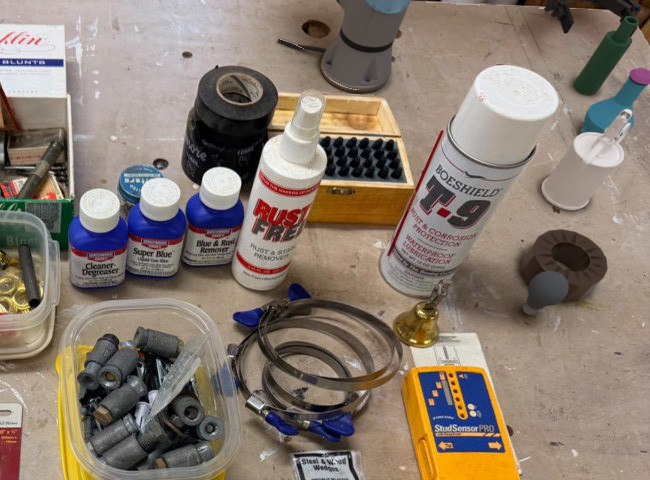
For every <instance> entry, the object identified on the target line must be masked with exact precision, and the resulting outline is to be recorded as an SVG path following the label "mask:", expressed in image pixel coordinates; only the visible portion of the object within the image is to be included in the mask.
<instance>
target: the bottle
mask: <svg viewBox="0 0 650 480" xmlns="http://www.w3.org/2000/svg"><path fill="white" fill-rule="evenodd" d="M639 23H640V21H639V19H638V18H637V17H636V18H635V17H632V16H627V17H625V18H624V20H623V21H622V23H620V24H619V25H618V27H617V28H616V30H610V31H608V32H607V33H606V34H605V36H604V37H603V38H602V40H601V41H600V43H599V44H598V46H597V47H596V49H595V50H594V52H593V53H592V55H591V56H590V58H589V59H588V61H587V63H586V64H585V65H584V67H583V68H582V70H581V71H580V73H579V74H578V75H577V78H576V79H575V80H574V82H573V84H572V86H573V89H574V90H575V91H576V92H577V93H579V94H580V95H584V96H594V95H595V94H597V93H598V92H599V90H600V89H601V87H602V86H603V85H604V83H605V82H606V81H607V79H608V77H609V76H610V75H611V73H612V72H613V71H614V69H615V67H616V66H617V65H618V63H620V61H621V59H622V58H623V56H624V55H625V54H626V52H627V51H628V49H629V48H630V46H631V45H632V44H633V38H632V36H631V37H630V35H631V33H632V32H633V30H634V29H635V28H636V26H637V27H638V25H639Z"/></svg>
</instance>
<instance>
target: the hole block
mask: <svg viewBox="0 0 650 480" xmlns="http://www.w3.org/2000/svg"><path fill="white" fill-rule="evenodd" d="M556 261H557V262H560V263H561V264H563V265H565V266H566V267H567V268H569V269H570V270H568V269H566V268H564V267H562V266H560V265H559V264H558V263H557V262H556ZM519 266H520V267H519V269H520V274H521V276H522V278H523V280H524V282H525V283H526V284H527V285H528V286H529V283H530V281H531V280H532V279H533V277H535V276H536V275H537V274H539V273H541V272H545V271H555V272H559V273H560V274H562V275H563V276H564V277H565V278H566V279H567V281H568V285H569V288H568V293H567V295H566V296H565V298H564V299H563V300H562V301H561V302H560V303H570V302H578V301H580V300H581V299H583V298H584V297H586V296H588V294H589V293H591V292H592V291H593V290H594V288H596V286H597V285H599V283H600V282H602V280H604V278H605V276H606V274H607V272H608V270H609V268H608V267H609V266H608V259H607V257H606V255H605V253H604V251H603V250H602V248H601V247H600V246H599V245H598V244H597V243H595V242H594V241H593V240H591V238H589V237H587V236H585V235H583V234H581V233H579V232H576V231H573V230H568V229H564V228H559V229H551V230H547V231H545V232H544V233H542V234H540V235H538V236H537V237H536V239H535V240H534V241H533V243H532V244H531V245H530V247H528V249H527V250H526V251H525V253H524V254H523V256H522V257H521V259H520V261H519Z"/></svg>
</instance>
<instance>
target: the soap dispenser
mask: <svg viewBox="0 0 650 480" xmlns="http://www.w3.org/2000/svg"><path fill="white" fill-rule="evenodd" d="M631 116H632V111H631V110H629V109H625V110H623V111H622V112H621V113H620V114H619V115H618V117H616V118H615V119H614V121H613V122H612V123H611V125H610V126H609V127H608V128H607V129H606V130H604V133H603V134H601V133H596V132H586V133H582V134H581V133H579V134H578V135H577V136H575V137H574V139H573V141H572V144H571V145H570V146H569V149H567V151H566V153H565V154H564V155H563V157H562V158H561V159H560V161H559V162H558V163H557V165H556V166H555V167H554V169H553V170H552V171H551V173H550V174H549V176H548V177H546V178H545V179H544V180H543V181H542V184H541V193H542V195H543V197H544V198H545V200H546V201H547V202H548V203H550V204H551V205H553V206H554V207H556V208H560V210H561V209H562V210H565V211H578V210H581V209H583V208H585V207H586V206H587V205H588V204H589V201H590V199H591V198H592V196H593V195H594V194H595V193H596V192H597V191H598V189H599V188H600V187H601V186H602V185H603V183H604V182H605V181H606V180H607V178H608V177H609V176H610V175H611V174H612V173H613V171H614V170H615V169H616V168H617V167H618V166H620V165H621V164H622V163H623V161H624V159H625V151H624V149H623V147H622V145H621V144H620V143H621V142H622V140H623V139H624V138H625V136H626V135H627V133H628V132H629V131H630V130H629V128H630V126H631V123H627V121H628V120H629V119H630V118H631ZM626 123H627V124H626ZM625 124H626V125H625ZM623 127H624V128H623ZM622 128H623V129H622ZM621 129H622V130H621ZM628 130H629V131H628ZM620 131H621V132H620ZM619 132H620V133H619ZM623 132H624V133H623ZM621 133H623V134H622V136H621V137H620V134H621ZM617 136H618V137H617ZM616 137H617V138H616ZM614 138H616V140H615V139H614Z"/></svg>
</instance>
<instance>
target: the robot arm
mask: <svg viewBox="0 0 650 480" xmlns="http://www.w3.org/2000/svg"><path fill="white" fill-rule="evenodd" d="M335 1H336V2H337V4H338V5H339V6H340V7H341V9H343V11H344V16H343V18H342V22H341V26H340V29H339V31H338V33H337V34H336V36H335V37H334V38H333V40H332V41H331V43H330V44H329V46H328V47H327V48H323V47H319V46H313V45H306V44H299V43H297V44H298V46H300V47H302V48H300V47H298V46H296V45H294V44H292V43H293V42H292V43H289V42H290V41H289V42H286V41H283V40H280V39H279V38H278V39H277V43H280V44H283V45H284V46H287V47H290V48H292V49H296V50H302V51H303V50H304V51H311V52H316V53H322V59H321V61H322V62H321V61H320V64H319V65H320V66H319V67H320V72H321V75H322V76H323V78H324V79H325V80H326V81H327V82H328V83H329V84H331V85H332V86H333V87H335V88H337V89H339V90H342V91H345V92H348V93H353V94H367V93H368V94H369V93H373V92H376V91H379V90H380V89H382V88H383V87H384V86H385V85H386V84H387V82H388V81H389V78H390V75H391V72H392V64H394V63H395V62H396V57H394V56H393V45H394V43H395V40H396V37H397V36H398V32H399V30H400V27H401V25H402V23H403V21H404V17H405V15H406V13H407V11H408V9H409V6H410V3H411V2H412V0H335ZM574 2H576V0H558V1H556V0H548V2H547V4H546V5H545V7H544V12H547V13H548V12H550V11H552V12H551V14H550V17H552V18H556V20H557V21H558V22H560V26H561V30H562V32H563V34H568V33H569V31H570V30H571V29H572V27H573V25H574V24H575V20H574V17H573V13H572V11H571V7H570V4H573V3H574ZM578 2H587V3H592V4H593V5H595V6H597V7H600V6H602V7H603V8H604V9H606V10H608V11H609V12H611V13H613V14H614V15H616V16H618V17H619V18H620V19H619V23H620V24H621V23H622V21H623V20H624V18H625V17H627V16H632V17H635V18H637V16H638V15H639V13H640V12H641V10H643V7H642V5H641V4H639V3H638V2H637V1H636V0H578ZM638 28H639V26H638V25H637V26H636V28H635V29H634V30H633V32H632V33H631V35H630V37H631V38H632V37H633V35H635V34H634V33H635V32H636V31H637V30H638ZM303 48H304V49H303ZM305 49H306V50H305ZM321 64H322V66H321ZM322 68H323V69H322ZM323 71H324V72H325V73H326V75H327V76H328V77H329V78H331V79H332V80H333V81H335V82H337V83H339V84H341V85H343V86H345V87H348V88H345V87H342V86H340V85H338V84H336V83H334V82H333V81H331V80H330V79H329V78H328V77H327V76H326V75H325V73H324V72H323ZM349 88H352V89H349ZM353 89H357V90H353ZM358 89H359V90H358Z"/></svg>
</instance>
